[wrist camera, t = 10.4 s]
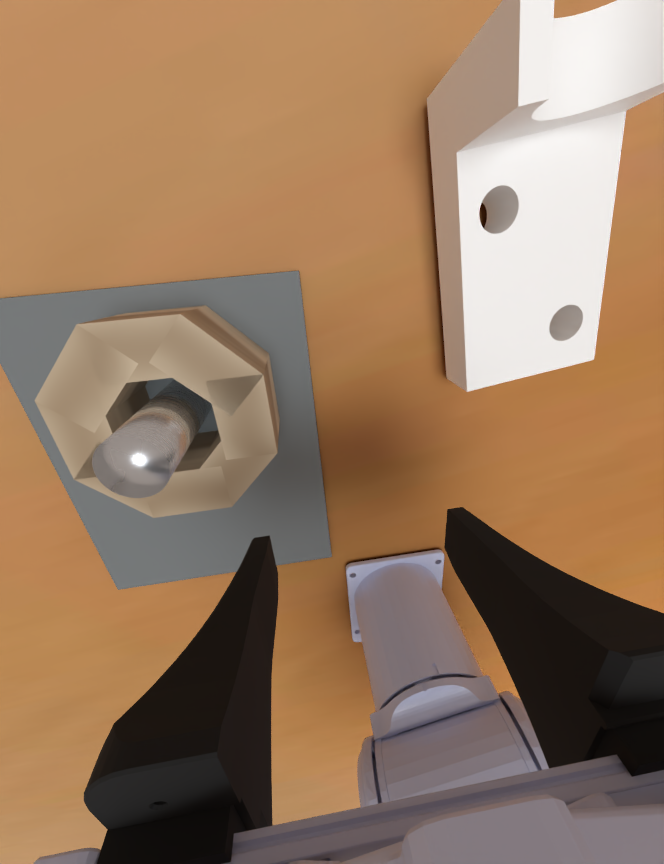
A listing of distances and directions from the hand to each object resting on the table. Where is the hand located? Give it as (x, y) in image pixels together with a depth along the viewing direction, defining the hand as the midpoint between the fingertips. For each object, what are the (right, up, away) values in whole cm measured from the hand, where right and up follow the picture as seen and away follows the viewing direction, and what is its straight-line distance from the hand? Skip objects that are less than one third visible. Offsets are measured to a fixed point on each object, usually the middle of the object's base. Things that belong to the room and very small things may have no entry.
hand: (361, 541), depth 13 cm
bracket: (+8, +15, +5) cm, 17 cm away
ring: (-9, +6, +6) cm, 13 cm away
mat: (-10, +3, +8) cm, 13 cm away
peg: (-9, +6, +6) cm, 13 cm away
